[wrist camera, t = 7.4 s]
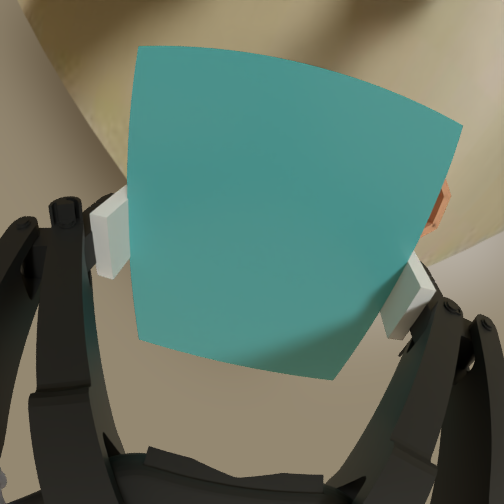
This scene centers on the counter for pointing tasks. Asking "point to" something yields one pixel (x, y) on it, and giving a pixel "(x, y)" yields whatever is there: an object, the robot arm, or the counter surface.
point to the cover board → (272, 204)
